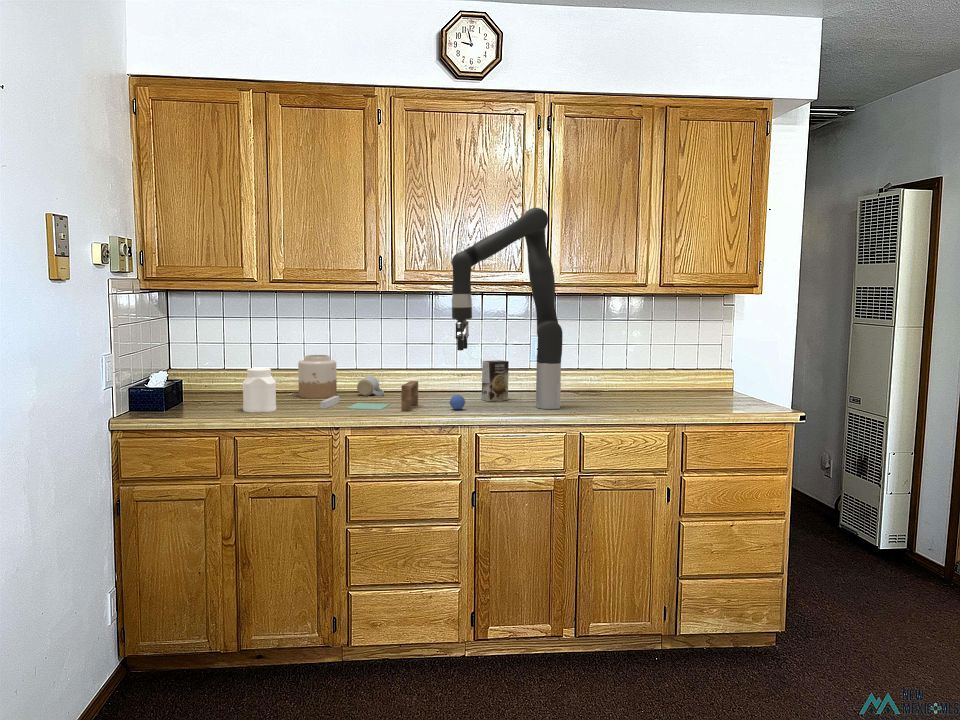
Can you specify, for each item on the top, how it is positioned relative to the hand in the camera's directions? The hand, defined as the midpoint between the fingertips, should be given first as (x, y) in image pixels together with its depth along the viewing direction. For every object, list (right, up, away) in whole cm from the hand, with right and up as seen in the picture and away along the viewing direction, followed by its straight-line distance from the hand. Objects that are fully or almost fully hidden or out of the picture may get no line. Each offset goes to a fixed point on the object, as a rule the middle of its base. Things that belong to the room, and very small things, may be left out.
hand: (462, 349), depth 279 cm
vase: (-60, -19, +27) cm, 69 cm away
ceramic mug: (-39, -19, +32) cm, 54 cm away
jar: (-73, -22, -10) cm, 77 cm away
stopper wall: (-50, -21, +3) cm, 55 cm away
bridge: (-20, -22, -1) cm, 29 cm away
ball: (-2, -20, -3) cm, 20 cm away
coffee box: (+13, -21, +21) cm, 32 cm away
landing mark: (-36, -22, +1) cm, 42 cm away
